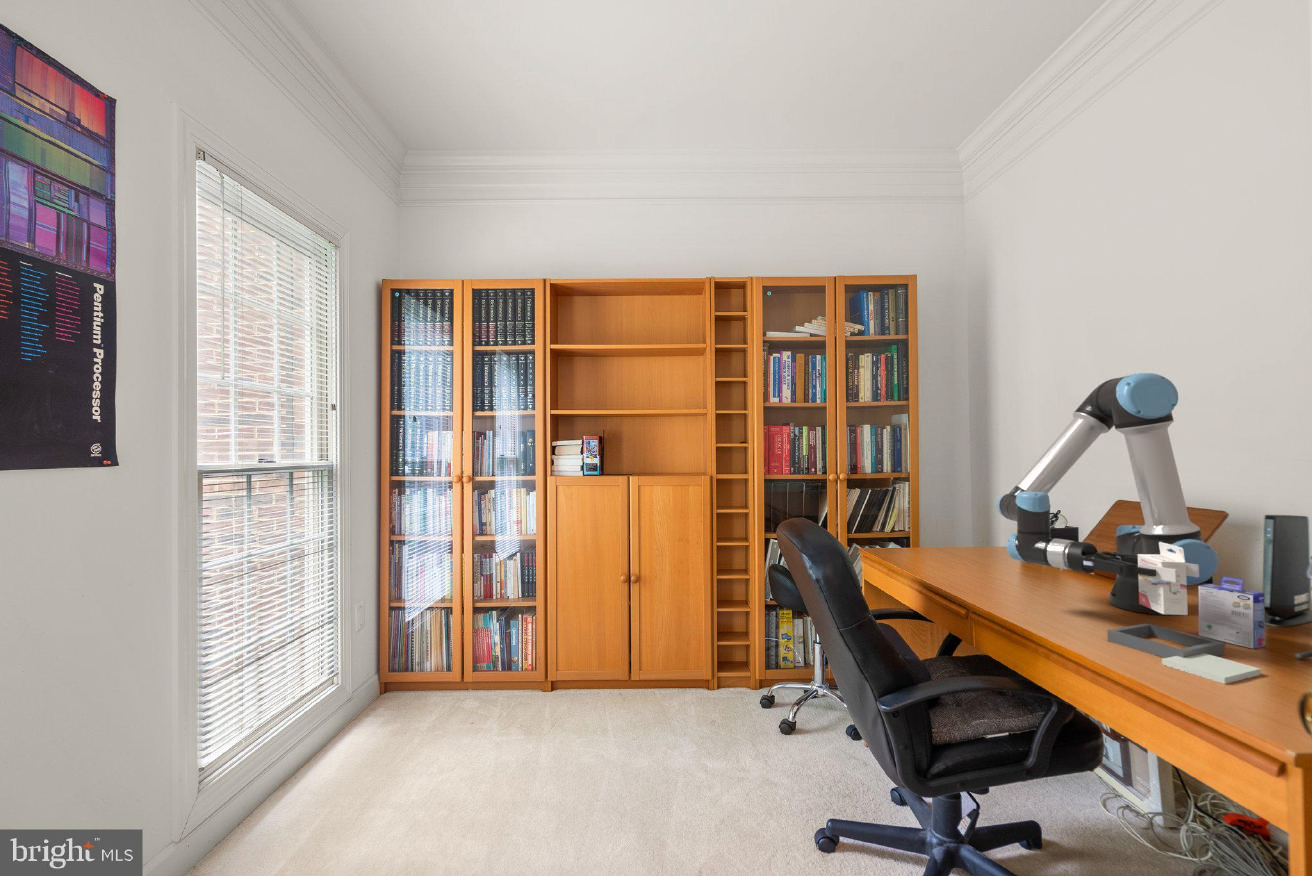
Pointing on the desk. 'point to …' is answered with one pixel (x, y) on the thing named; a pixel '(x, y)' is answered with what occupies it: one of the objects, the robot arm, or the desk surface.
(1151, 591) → the ink cartridge box
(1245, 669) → the board
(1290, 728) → the desk surface
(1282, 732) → the desk surface
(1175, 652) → the dock
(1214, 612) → the ink cartridge box
